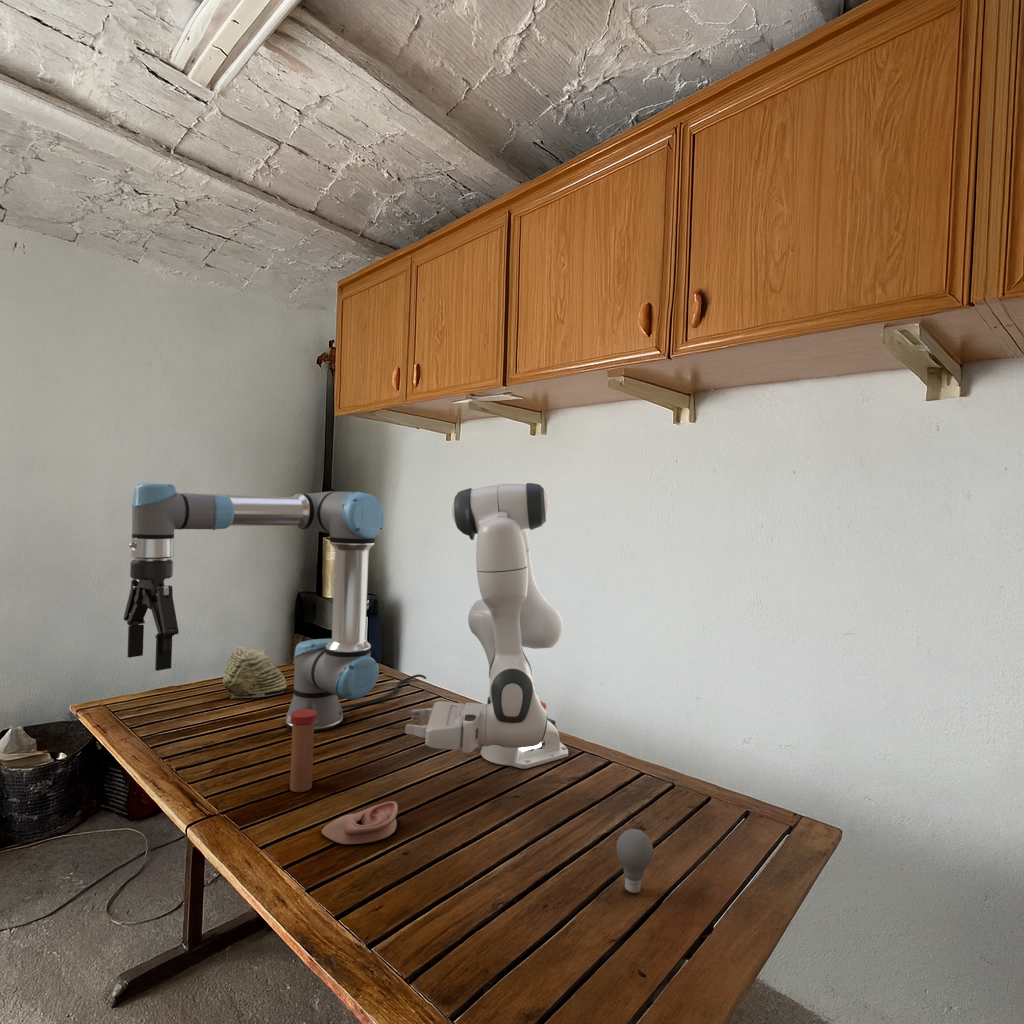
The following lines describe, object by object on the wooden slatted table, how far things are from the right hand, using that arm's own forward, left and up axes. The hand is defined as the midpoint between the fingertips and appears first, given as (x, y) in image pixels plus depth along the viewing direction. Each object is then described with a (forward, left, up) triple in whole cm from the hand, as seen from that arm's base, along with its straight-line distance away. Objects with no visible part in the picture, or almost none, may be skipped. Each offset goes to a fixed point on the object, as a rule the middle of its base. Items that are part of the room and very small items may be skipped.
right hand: (408, 721), depth 138 cm
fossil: (+24, -80, -15) cm, 85 cm away
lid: (+20, -10, 0) cm, 23 cm away
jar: (+20, -10, -15) cm, 27 cm away
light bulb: (-24, +48, -15) cm, 56 cm away
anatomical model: (+13, +12, -15) cm, 24 cm away
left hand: (+50, -16, +13) cm, 54 cm away
